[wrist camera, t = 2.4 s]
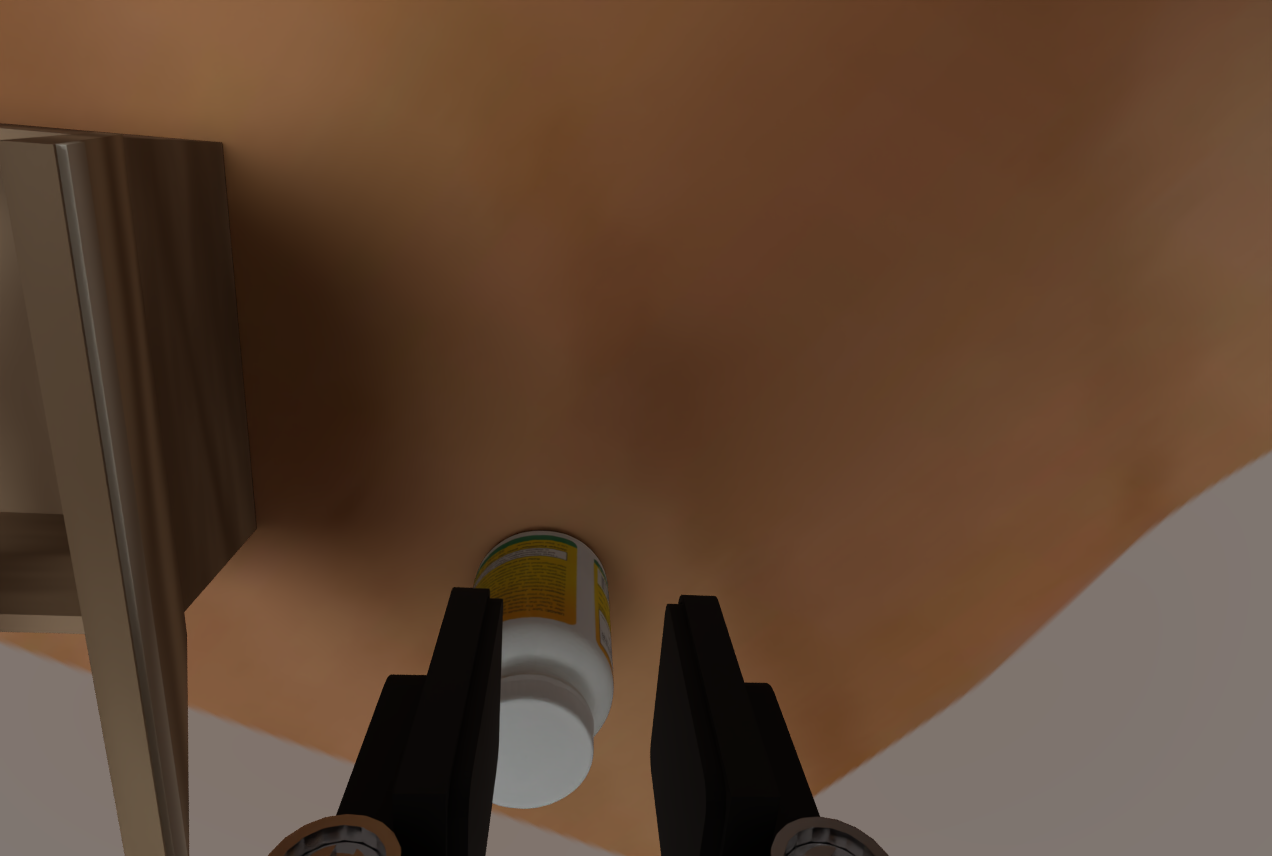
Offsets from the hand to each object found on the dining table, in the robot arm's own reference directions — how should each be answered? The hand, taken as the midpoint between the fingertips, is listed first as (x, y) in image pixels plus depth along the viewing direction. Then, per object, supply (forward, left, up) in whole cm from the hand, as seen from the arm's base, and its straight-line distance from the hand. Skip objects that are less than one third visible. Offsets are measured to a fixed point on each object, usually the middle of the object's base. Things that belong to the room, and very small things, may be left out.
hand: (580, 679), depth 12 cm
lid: (+9, 0, -5) cm, 11 cm away
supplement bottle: (+1, +9, -18) cm, 20 cm away
